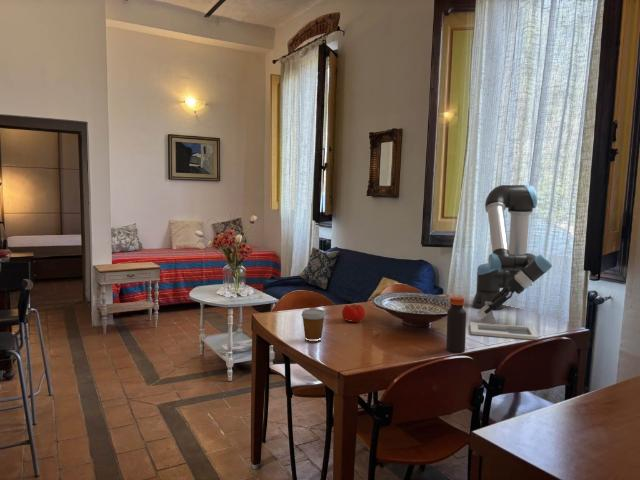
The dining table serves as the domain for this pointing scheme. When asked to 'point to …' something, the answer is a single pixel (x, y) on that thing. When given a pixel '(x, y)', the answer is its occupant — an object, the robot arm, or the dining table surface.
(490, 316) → the flask
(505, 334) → the keyhole plate
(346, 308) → the tomato
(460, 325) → the bottle
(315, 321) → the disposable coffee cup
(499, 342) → the dining table surface
